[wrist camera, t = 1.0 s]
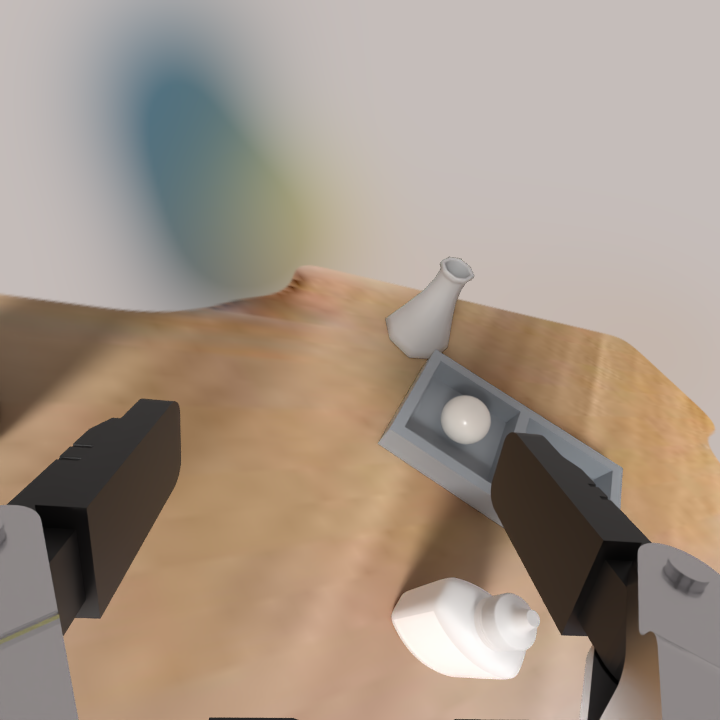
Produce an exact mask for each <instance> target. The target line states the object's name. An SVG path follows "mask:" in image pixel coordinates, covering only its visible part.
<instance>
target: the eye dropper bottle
mask: <svg viewBox="0 0 720 720" xmlns="http://www.w3.org/2000/svg"><path fill="white" fill-rule="evenodd" d="M391 617H392V622H393V625H394V627H395V629H396V631H397V633H398V635H399V637H400V638H401V640H402V641H403V643H404V644H405V646H406V647H407V648H408V649H409V651H410V652H411V653H412V654H413V655H414V656H415V657H416V658H417V659H418V660H419V661H421V662H422V663H423V664H425V665H426V666H428V667H429V668H431V669H433V670H434V671H436V672H439V673H441V674H443V675H446V676H450V677H464V678H482V679H510V678H514V677H515V676H516V675H517V674H518V672H519V670H520V668H521V665H522V663H523V660H524V656H525V652H526V650H527V649H528V648H529V647H531V645H533V643H534V641H535V639H536V634H537V627H538V626H539V624H540V618H539V616H538V614H537V613H536V612H535V611H534V610H531V608H530V607H529V605H528V604H527V603H526V602H525V601H524V600H523V599H522V598H521V597H519V596H517V595H515V594H512V593H505V594H500V595H496V596H492V595H491V594H489V593H488V592H487V591H485V590H483V589H482V588H480V587H478V586H476V585H474V584H472V583H470V582H468V581H465V580H462V579H458V578H454V577H453V578H445V579H441V580H438V581H435V582H432V583H429V584H426V585H423V586H420V587H417V588H414V589H412V590H409V591H406V592H405V593H404V594H402V596H401V598H400V599H399V601H398V603H397V604H396V606H395V608H394V610H393V612H392V616H391Z"/></svg>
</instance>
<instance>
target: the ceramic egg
mask: <svg viewBox="0 0 720 720" xmlns="http://www.w3.org/2000/svg"><path fill="white" fill-rule="evenodd" d="M441 425H442V428H443V430H444V432H445V434H446V435H447V436H448V437H449V438H450V439H451V440H453V441H455V442H457V443H460V444H473V443H476V442H478V441H480V440H482V439H483V438H484V437H485V436H486V434H487V433H488V431H489V429H490V425H491V416H490V413H489V410H488V408H487V407H486V405H485V404H484V403H483V402H482V401H481V400H479V399H477V398H475V397H473V396H468V395H461V396H457V397H454V398H453V399H451V400H450V401H448V402H447V403H446V405H445V406H444V408H443V410H442V413H441Z"/></svg>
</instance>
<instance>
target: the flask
mask: <svg viewBox="0 0 720 720" xmlns="http://www.w3.org/2000/svg"><path fill="white" fill-rule="evenodd" d="M440 267H441V269H440V271H439V272H438V274H437V275H436V277H435V279H434V280H433V281H432V282H431V283H430V284H429V285H428V286H427V287H426V288H425V289H424V290H423V291H422V292H420V293H419V294H418V295H417V296H415V297H414V298H413V299H411V300H410V301H409V302H408V303H406V304H405V305H403V306H402V307H401V308H399V309H398V310H396V311H395V312H394V313H392V314H391V315H389V316H388V317H387V318H386V319H385V320H386V324H387V329H388V333H389V338H390V340H391V341H392V342H393V343H394V344H395V345H396V346H398V347H399V348H400V349H401V350H402V351H403V352H404V353H405V354H406V355H407V356H408V357H410V358H425V359H429V358H430V356H431V355H432V353H433V352H434V351H435V349H436V350H438V351H439V352H443V351H444V350H445V349H446V348H447V347H448V342H449V336H450V329H451V323H452V318H453V313H454V308H455V304H456V301H457V299H458V296H459V294H460V292H461V289H462V288H463V287H464V285H465V284H466V283H467V282H468V281H470V280H471V279H473V278H474V274H473V272H472V269H471V267H470V266H469V265H468V264H467V263H465V262H464V261H463V260H462V259H460V258H454V257H448V258H446V259H444V260H442V261H441V263H440Z"/></svg>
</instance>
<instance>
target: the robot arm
mask: <svg viewBox="0 0 720 720" xmlns="http://www.w3.org/2000/svg"><path fill="white" fill-rule="evenodd" d="M180 465H181V436H180V408H179V405H178V403H177V402H175V401H164V400H152V399H140V400H139V401H138V402H137V403H136V404H135V405H134V406H133V407H132V408H131V409H130V410H129V411H128V412H127V413H126V414H125V415H124V416H123V417H122V418H121V419H120V418H111V419H109V420H107V421H105V422H103V423H101V424H99V425H97V426H95V427H93V428H91V429H89V430H88V431H87V432H86V433H85V434H83V435H82V436H81V437H80V438H79V439H78V440H77V441H76V442H75V443H74V444H73V447H69V448H68V449H67V450H66V451H65V452H64V453H63V454H62V455H60V458H59V460H57V459H56V460H55V461H54V462H53V463H52V464H51V465H50V466H48V467H47V468H46V469H45V470H44V471H43V472H42V473H41V474H40V475H39V476H38V477H36V478H35V479H34V480H33V481H32V482H31V483H30V484H29V485H28V486H27V487H26V488H24V489H23V490H22V491H21V492H20V493H19V494H18V495H17V496H16V497H15V498H14V499H12V500H11V501H10V502H9V503H8V504H7V505H0V720H78V715H77V709H76V704H75V699H74V693H73V688H72V682H71V677H70V672H69V666H68V661H67V655H66V650H65V645H64V639H63V636H64V634H65V632H66V631H67V629H68V628H69V626H70V624H71V623H72V621H73V620H74V618H99V619H100V618H101V616H102V615H103V613H104V611H105V609H106V608H107V606H108V604H109V602H110V600H111V599H112V597H113V595H114V593H115V592H116V590H117V588H118V586H119V585H120V583H121V581H122V579H123V577H124V576H125V574H126V572H127V570H128V569H129V567H130V565H131V563H132V561H133V560H134V558H135V556H136V554H137V553H138V551H139V549H140V547H141V545H142V544H143V542H144V540H145V538H146V537H147V535H148V533H149V531H150V529H151V528H152V526H153V524H154V522H155V521H156V519H157V517H158V515H159V513H160V512H161V510H162V508H163V506H164V505H165V503H166V501H167V499H168V498H169V496H170V494H171V492H172V490H173V489H174V487H175V485H176V482H177V479H178V476H179V472H180ZM491 501H492V505H493V508H494V510H495V512H496V514H497V516H498V518H499V519H500V521H501V523H502V525H503V527H504V529H505V531H506V533H507V534H508V536H509V538H510V540H511V542H512V544H513V546H514V547H515V549H516V551H517V553H518V555H519V557H520V559H521V561H522V562H523V564H524V566H525V568H526V570H527V572H528V574H529V576H530V577H531V579H532V581H533V583H534V585H535V587H536V589H537V590H538V592H539V594H540V596H541V598H542V600H543V602H544V604H545V605H546V607H547V609H548V611H549V613H550V615H551V617H552V618H553V620H554V622H555V624H556V626H557V628H558V630H559V632H560V633H561V635H569V636H588V638H589V639H590V641H591V643H592V646H591V648H590V650H589V652H588V654H587V658H586V666H585V675H584V684H583V693H582V702H581V711H580V719H579V720H720V575H719V574H718V573H717V572H716V571H715V570H713V569H712V568H711V567H709V566H708V565H707V564H705V563H704V562H702V561H700V560H699V559H697V558H695V557H694V556H692V555H690V554H688V553H686V552H684V551H682V550H679V549H677V548H674V547H671V546H668V545H664V544H659V543H651V542H650V541H649V540H648V538H647V537H646V536H645V535H644V534H643V533H642V532H641V531H640V530H639V529H638V528H637V527H636V526H635V525H634V524H633V523H632V522H631V521H630V520H629V518H628V517H627V516H626V515H625V514H624V513H623V512H622V511H621V510H620V509H619V508H618V507H617V506H616V505H615V504H614V503H613V502H612V501H611V500H608V496H607V495H606V494H605V493H604V492H603V491H602V490H601V489H600V488H599V487H596V484H595V483H594V482H593V481H592V480H591V479H590V477H589V476H588V475H587V474H586V473H585V472H584V471H583V470H582V469H581V468H579V467H578V466H576V465H575V464H573V463H572V462H570V461H569V460H567V459H566V458H564V457H563V456H562V455H561V454H560V453H559V452H558V451H557V450H556V449H555V448H554V447H553V446H552V445H551V444H550V442H549V441H548V440H547V439H546V438H545V437H544V436H542V435H539V434H528V433H517V432H511V433H509V434H508V435H507V436H506V438H505V440H504V443H503V447H502V450H501V453H500V457H499V460H498V463H497V467H496V470H495V473H494V477H493V480H492V484H491ZM209 720H297V719H294V718H209ZM455 720H479V719H455Z"/></svg>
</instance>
